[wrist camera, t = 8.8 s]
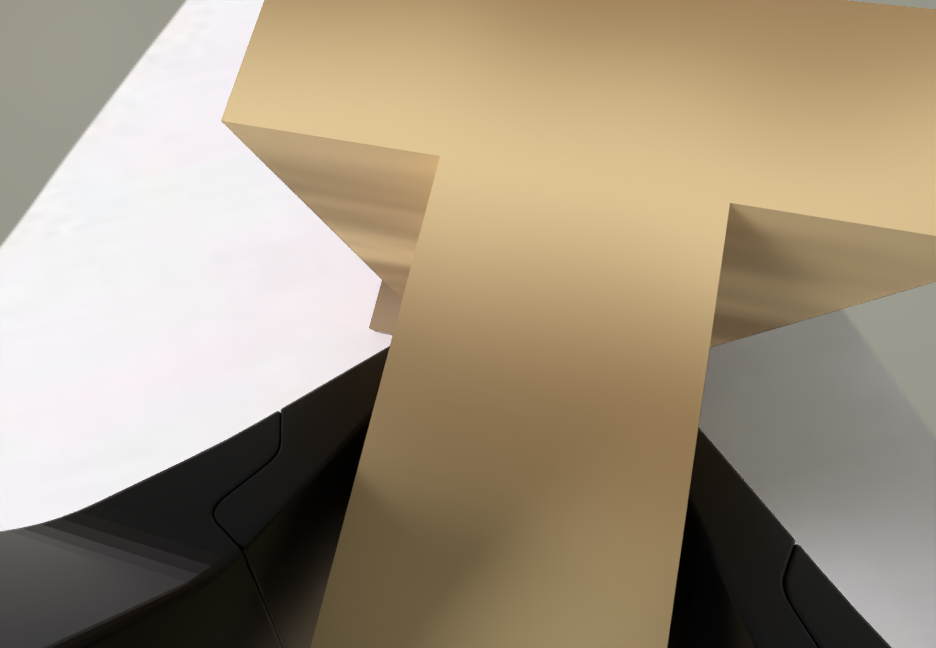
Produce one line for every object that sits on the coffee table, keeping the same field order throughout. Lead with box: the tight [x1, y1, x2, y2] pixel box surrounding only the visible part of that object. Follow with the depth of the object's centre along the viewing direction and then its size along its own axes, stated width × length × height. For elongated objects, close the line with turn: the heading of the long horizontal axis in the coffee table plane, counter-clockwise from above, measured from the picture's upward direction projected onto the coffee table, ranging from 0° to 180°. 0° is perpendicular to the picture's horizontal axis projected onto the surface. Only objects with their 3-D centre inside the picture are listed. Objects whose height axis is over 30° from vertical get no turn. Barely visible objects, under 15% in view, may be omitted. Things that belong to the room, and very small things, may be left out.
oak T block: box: [221, 0, 936, 648], centre depth 10 cm, size 12×10×10 cm
